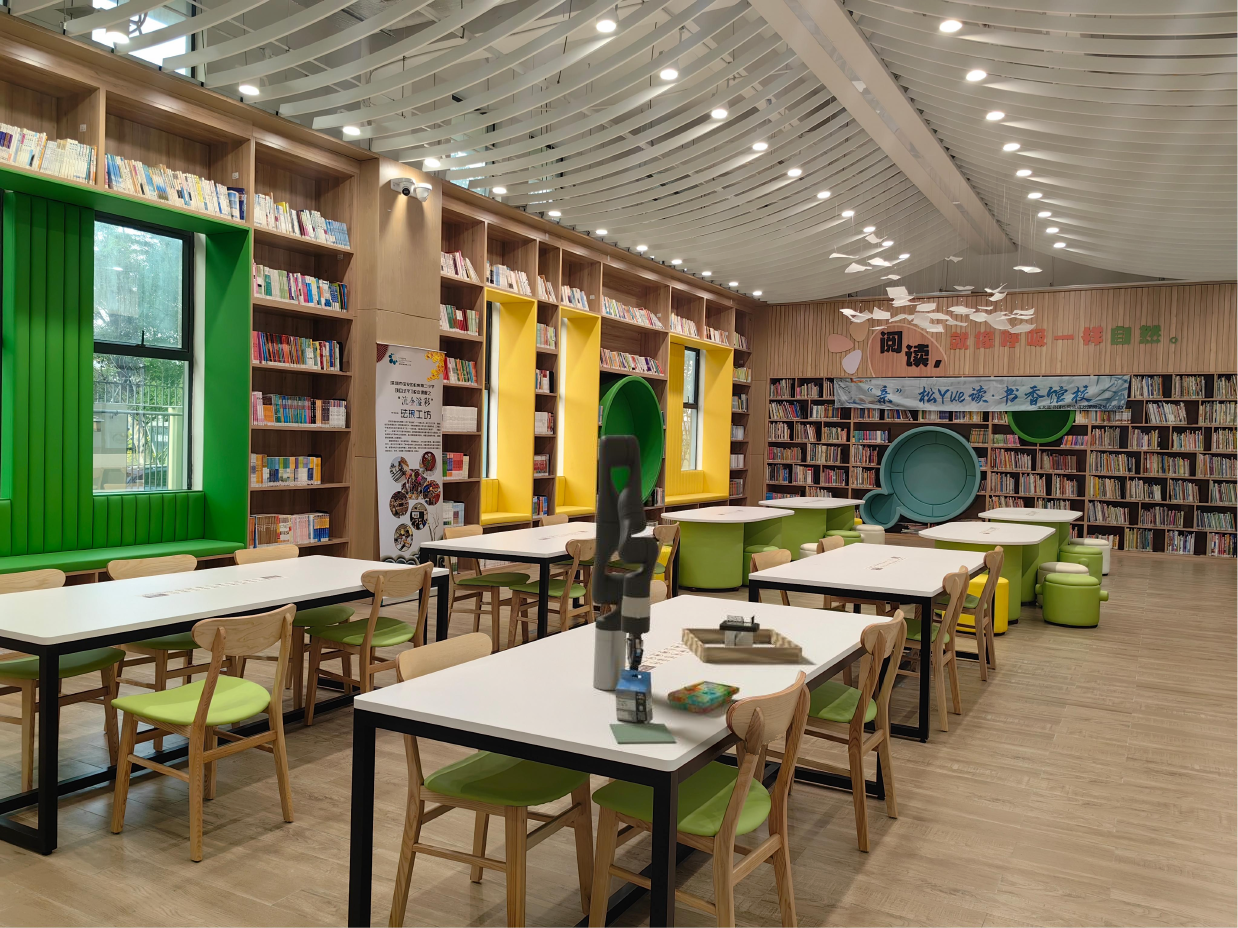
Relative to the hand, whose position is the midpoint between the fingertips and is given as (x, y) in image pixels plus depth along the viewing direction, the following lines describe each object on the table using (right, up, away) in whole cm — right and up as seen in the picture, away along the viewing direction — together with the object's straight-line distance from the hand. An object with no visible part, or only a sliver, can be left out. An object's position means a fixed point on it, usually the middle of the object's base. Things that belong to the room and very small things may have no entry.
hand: (633, 679), depth 235 cm
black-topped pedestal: (+39, -11, +84) cm, 93 cm away
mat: (+2, -10, -14) cm, 17 cm away
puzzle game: (+20, -11, +15) cm, 27 cm away
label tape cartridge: (0, -10, -4) cm, 10 cm away
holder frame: (+39, -10, +84) cm, 93 cm away
